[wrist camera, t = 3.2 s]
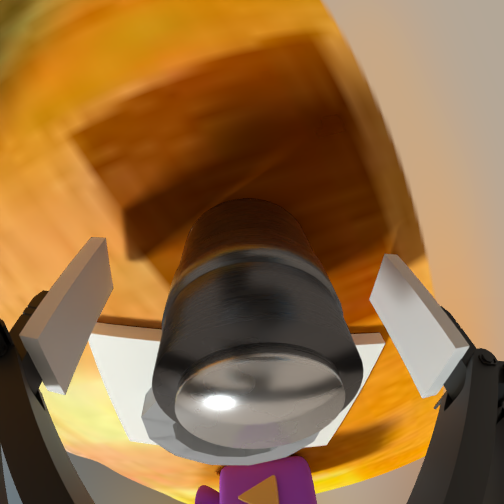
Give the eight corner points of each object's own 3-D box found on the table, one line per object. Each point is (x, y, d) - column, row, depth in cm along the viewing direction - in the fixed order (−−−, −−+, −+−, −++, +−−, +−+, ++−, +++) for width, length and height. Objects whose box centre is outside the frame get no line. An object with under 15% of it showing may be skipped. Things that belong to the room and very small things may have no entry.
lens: (182, 192, 13) (124, 326, 6) (320, 202, 14) (409, 331, 6) (183, 304, 16) (161, 452, 9) (297, 309, 17) (335, 451, 9)
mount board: (91, 321, 16) (74, 356, 14) (379, 332, 18) (396, 366, 16) (131, 432, 23) (126, 459, 20) (324, 436, 25) (330, 462, 22)
